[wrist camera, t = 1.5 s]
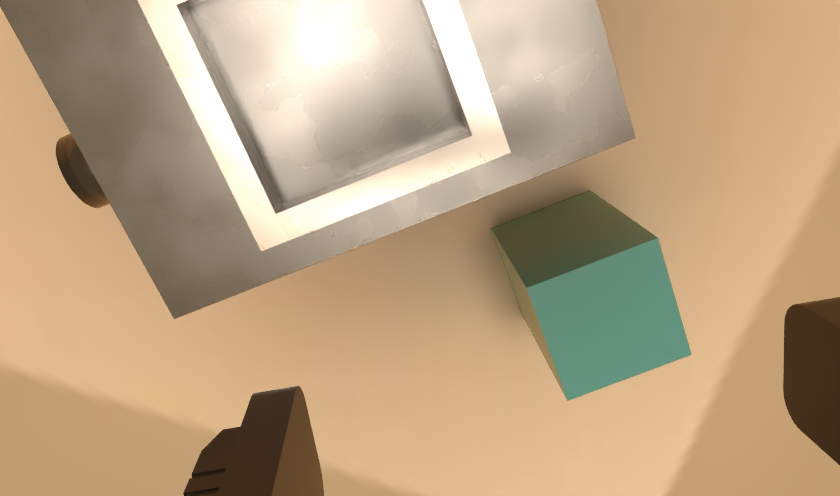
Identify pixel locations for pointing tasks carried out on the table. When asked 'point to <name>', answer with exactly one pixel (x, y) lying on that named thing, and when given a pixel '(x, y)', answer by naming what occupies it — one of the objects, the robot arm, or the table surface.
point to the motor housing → (309, 119)
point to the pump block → (592, 292)
